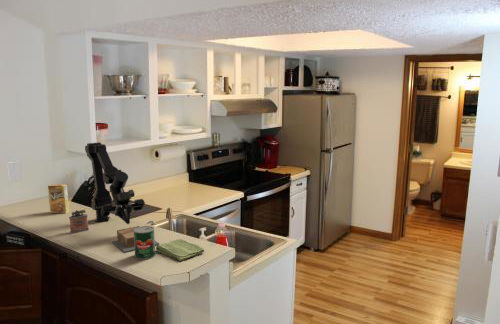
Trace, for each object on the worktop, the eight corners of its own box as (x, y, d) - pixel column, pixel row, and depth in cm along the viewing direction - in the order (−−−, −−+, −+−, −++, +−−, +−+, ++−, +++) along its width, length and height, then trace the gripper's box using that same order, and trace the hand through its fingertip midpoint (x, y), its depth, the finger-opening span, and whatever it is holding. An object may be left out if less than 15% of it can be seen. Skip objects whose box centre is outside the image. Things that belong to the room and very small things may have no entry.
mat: (112, 242, 186) (112, 241, 186) (145, 235, 195) (145, 234, 195) (124, 252, 174) (124, 251, 174) (159, 244, 183) (159, 243, 183)
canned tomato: (139, 261, 165) (137, 233, 164) (132, 255, 172) (130, 228, 170) (158, 256, 170) (157, 229, 168) (150, 250, 176) (149, 224, 175)
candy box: (50, 213, 232) (47, 185, 230) (54, 211, 236) (51, 183, 234) (65, 213, 232) (63, 185, 229) (69, 211, 236) (67, 183, 233)
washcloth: (180, 263, 164) (180, 255, 163) (154, 252, 176) (153, 244, 175) (206, 253, 173) (206, 246, 173) (179, 243, 185) (179, 236, 185)
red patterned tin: (71, 233, 198) (69, 212, 197) (69, 231, 201) (67, 211, 200) (89, 230, 203) (87, 209, 201) (87, 228, 206) (86, 208, 204)
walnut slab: (116, 230, 188) (126, 238, 178) (138, 225, 194) (150, 233, 183) (117, 239, 189) (127, 247, 178) (139, 234, 194) (150, 242, 184)
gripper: (100, 187, 185) (110, 218, 178) (142, 181, 196) (153, 210, 189) (96, 201, 193) (106, 231, 186) (136, 195, 204) (147, 223, 197)
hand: (128, 223), depth 189 cm, fingers closed
